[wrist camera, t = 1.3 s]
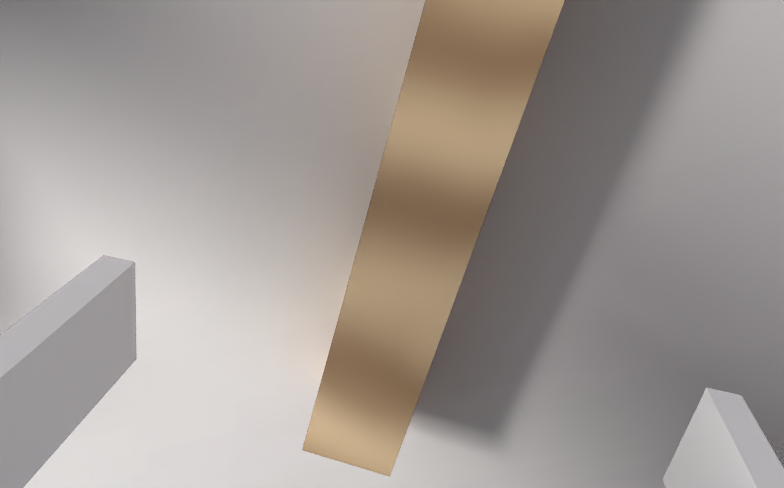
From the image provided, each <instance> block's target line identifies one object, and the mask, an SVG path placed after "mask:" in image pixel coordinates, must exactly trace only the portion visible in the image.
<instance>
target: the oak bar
mask: <svg viewBox="0 0 784 488" xmlns="http://www.w3.org/2000/svg"><path fill="white" fill-rule="evenodd" d="M564 1H565V0H426V1H425V4H424V8H423V12H422V15H421V19H420V23H419V26H418V30H417V33H416V37H415V41H414V44H413V48H412V52H411V55H410V59H409V63H408V66H407V70H406V74H405V77H404V81H403V85H402V88H401V92H400V95H399V99H398V103H397V106H396V110H395V114H394V117H393V121H392V125H391V128H390V132H389V136H388V139H387V143H386V147H385V150H384V154H383V157H382V161H381V165H380V168H379V172H378V176H377V179H376V183H375V187H374V190H373V194H372V198H371V201H370V205H369V209H368V212H367V216H366V219H365V223H364V227H363V230H362V234H361V238H360V241H359V245H358V249H357V252H356V256H355V260H354V263H353V267H352V271H351V274H350V278H349V281H348V285H347V289H346V292H345V296H344V300H343V303H342V307H341V311H340V314H339V318H338V322H337V325H336V329H335V333H334V336H333V340H332V343H331V347H330V351H329V354H328V358H327V362H326V365H325V369H324V373H323V376H322V380H321V384H320V387H319V391H318V395H317V398H316V402H315V405H314V409H313V413H312V416H311V420H310V424H309V427H308V431H307V435H306V438H305V442H304V446H303V449H302V450H304V451H307V452H310V453H314V454H317V455H320V456H324V457H327V458H330V459H334V460H337V461H340V462H344V463H347V464H350V465H353V466H357V467H360V468H363V469H367V470H370V471H373V472H377V473H380V474H383V475H386V476H390V475H391V472H392V469H393V467H394V464H395V461H396V458H397V456H398V453H399V450H400V448H401V445H402V442H403V439H404V437H405V434H406V431H407V429H408V426H409V423H410V420H411V418H412V415H413V412H414V409H415V407H416V404H417V401H418V399H419V396H420V393H421V390H422V388H423V385H424V382H425V380H426V377H427V374H428V371H429V369H430V366H431V363H432V360H433V358H434V355H435V352H436V350H437V347H438V344H439V341H440V339H441V336H442V333H443V331H444V328H445V325H446V322H447V320H448V317H449V314H450V311H451V309H452V306H453V303H454V301H455V298H456V295H457V292H458V290H459V287H460V284H461V282H462V279H463V276H464V273H465V271H466V268H467V265H468V263H469V260H470V257H471V254H472V252H473V249H474V246H475V243H476V241H477V238H478V235H479V233H480V230H481V227H482V224H483V222H484V219H485V216H486V214H487V211H488V208H489V205H490V203H491V200H492V197H493V194H494V192H495V189H496V186H497V184H498V181H499V178H500V175H501V173H502V170H503V167H504V165H505V162H506V159H507V156H508V154H509V151H510V148H511V145H512V143H513V140H514V137H515V135H516V132H517V129H518V126H519V124H520V121H521V118H522V116H523V113H524V110H525V107H526V105H527V102H528V99H529V96H530V94H531V91H532V88H533V86H534V83H535V80H536V77H537V75H538V72H539V69H540V67H541V64H542V61H543V58H544V56H545V53H546V50H547V47H548V45H549V42H550V39H551V37H552V34H553V31H554V28H555V26H556V23H557V20H558V18H559V15H560V12H561V9H562V7H563V4H564Z"/></svg>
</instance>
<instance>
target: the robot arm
mask: <svg viewBox="0 0 784 488" xmlns="http://www.w3.org/2000/svg"><path fill="white" fill-rule="evenodd" d="M135 360H136V296H135V262H132V261H127V260H123V259H118V258H114V257H109V256H104V255H103V256H102V257H101V258H99V259H98V260H97V261H96V262H94V263H93V264H92V265H90V266H89V267H88V268H86V269H85V270H84V271H83V272H81V273H80V274H79V275H77V276H76V277H75V278H73V279H72V280H71V281H70V282H68V283H67V284H66V285H64V286H63V287H62V288H60V289H59V290H58V291H57V292H55V293H54V294H53V295H51V296H50V297H49V298H48V299H46V300H45V301H44V302H42V303H41V304H40V305H38V306H37V307H36V308H35V309H33V310H32V311H31V312H29V313H28V314H27V315H25V316H24V317H23V318H22V319H20V320H19V321H18V322H16V323H15V324H14V325H13V326H11V327H10V328H9V329H7V330H6V331H5V332H3V333H2V334H1V335H0V488H23V487H24V486H25V485H26V484H27V483H28V482H29V480H30V479H31V478H32V477H33V476H34V475H35V474H36V472H37V471H38V470H39V469H40V468H41V467H42V466H43V464H44V463H45V462H46V461H47V460H48V459H49V458H50V457H51V455H52V454H53V453H54V452H55V451H56V450H57V449H58V447H59V446H60V445H61V444H62V443H63V442H64V441H65V439H66V438H67V437H68V436H69V435H70V434H71V433H72V431H73V430H74V429H75V428H76V427H77V426H78V425H79V424H80V422H81V421H82V420H83V419H84V418H85V417H86V416H87V414H88V413H89V412H90V411H91V410H92V409H93V408H94V406H95V405H96V404H97V403H98V402H99V401H100V400H101V399H102V397H103V396H104V395H105V394H106V393H107V392H108V391H109V389H110V388H111V387H112V386H113V385H114V384H115V383H116V381H117V380H118V379H119V378H120V377H121V376H122V375H123V374H124V372H125V371H126V370H127V369H128V368H129V367H130V366H131V364H132V363H133V362H134V361H135ZM663 482H664V485H665V488H784V468H783V466H782V464H781V463H780V461H779V459H778V457H777V456H776V454H775V452H774V450H773V449H772V447H771V445H770V444H769V442H768V440H767V438H766V437H765V435H764V433H763V431H762V430H761V428H760V426H759V424H758V423H757V421H756V419H755V418H754V416H753V414H752V412H751V411H750V409H749V407H748V405H747V404H746V402H745V400H744V399H743V397H742V395H738V394H734V393H729V392H725V391H720V390H716V389H711V388H706V389H705V391H704V393H703V396H702V398H701V400H700V402H699V404H698V406H697V408H696V410H695V412H694V414H693V416H692V419H691V421H690V423H689V425H688V427H687V429H686V431H685V433H684V435H683V437H682V439H681V442H680V444H679V446H678V448H677V450H676V452H675V454H674V456H673V458H672V460H671V462H670V465H669V467H668V469H667V471H666V473H665V475H664V477H663Z"/></svg>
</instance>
